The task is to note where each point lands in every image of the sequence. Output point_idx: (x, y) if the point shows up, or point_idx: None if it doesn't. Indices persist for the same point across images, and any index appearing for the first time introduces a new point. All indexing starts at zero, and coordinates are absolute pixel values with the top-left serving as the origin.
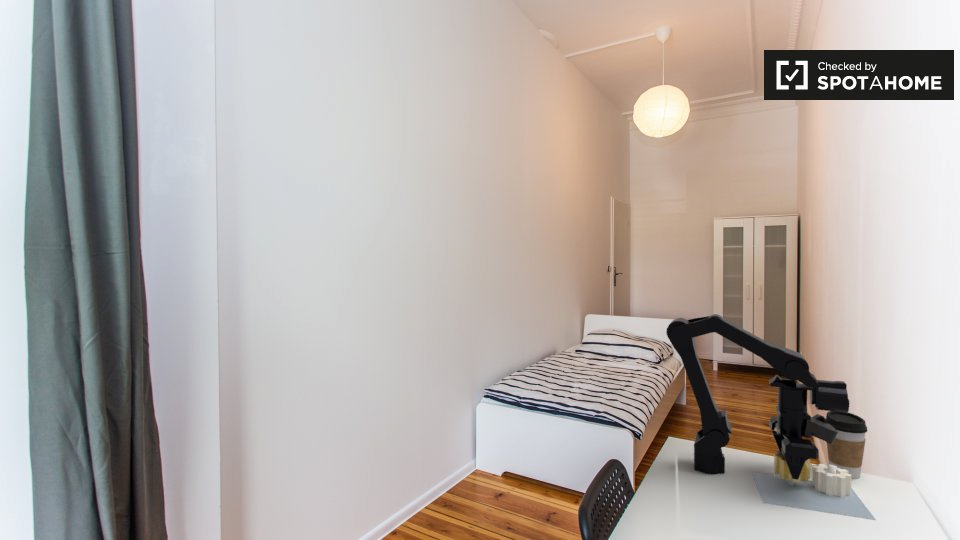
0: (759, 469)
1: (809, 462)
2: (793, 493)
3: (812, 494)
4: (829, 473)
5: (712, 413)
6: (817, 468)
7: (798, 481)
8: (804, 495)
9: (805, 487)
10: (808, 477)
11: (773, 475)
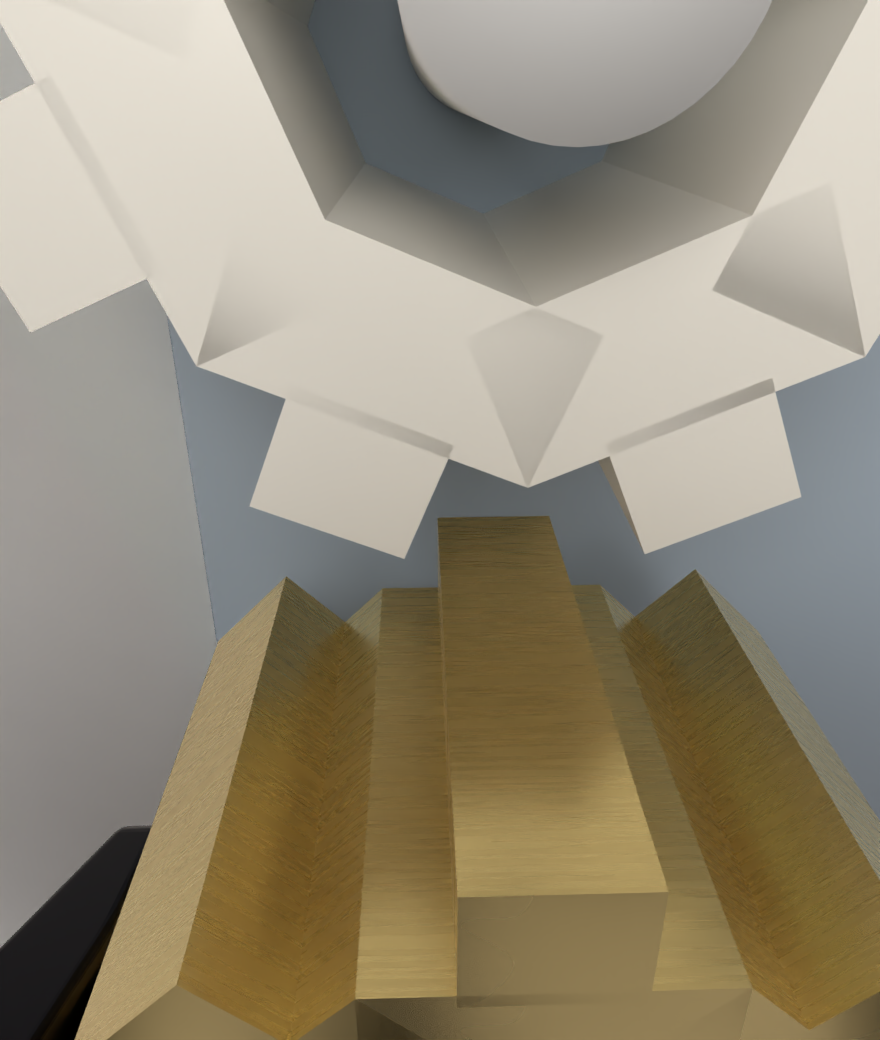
0: (10, 902)
1: (639, 828)
2: (811, 704)
3: (803, 459)
4: (843, 148)
5: None
6: (482, 451)
7: (319, 563)
8: (852, 579)
9: (540, 507)
10: (735, 625)
11: None
